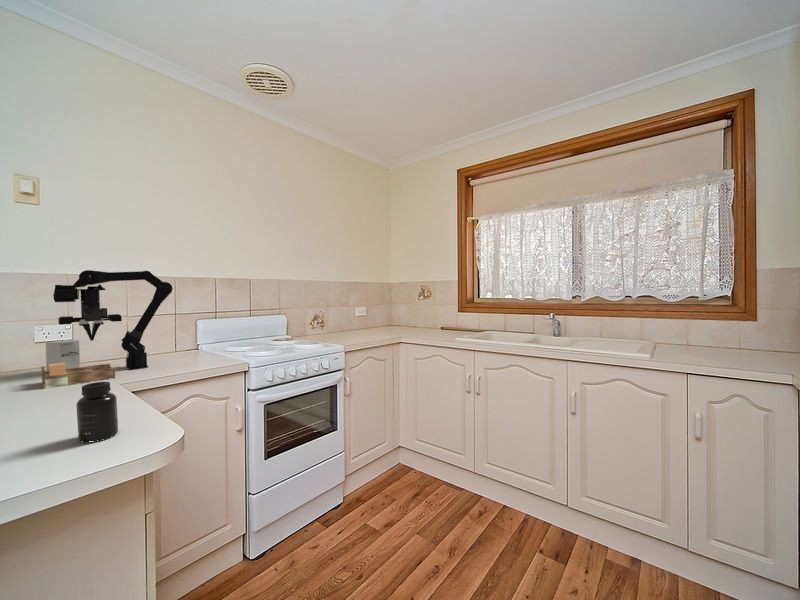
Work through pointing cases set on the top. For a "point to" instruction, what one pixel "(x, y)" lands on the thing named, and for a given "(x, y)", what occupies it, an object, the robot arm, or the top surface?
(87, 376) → the brown flat box
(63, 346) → the supplement box
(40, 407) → the top surface
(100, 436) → the supplement bottle
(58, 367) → the block
